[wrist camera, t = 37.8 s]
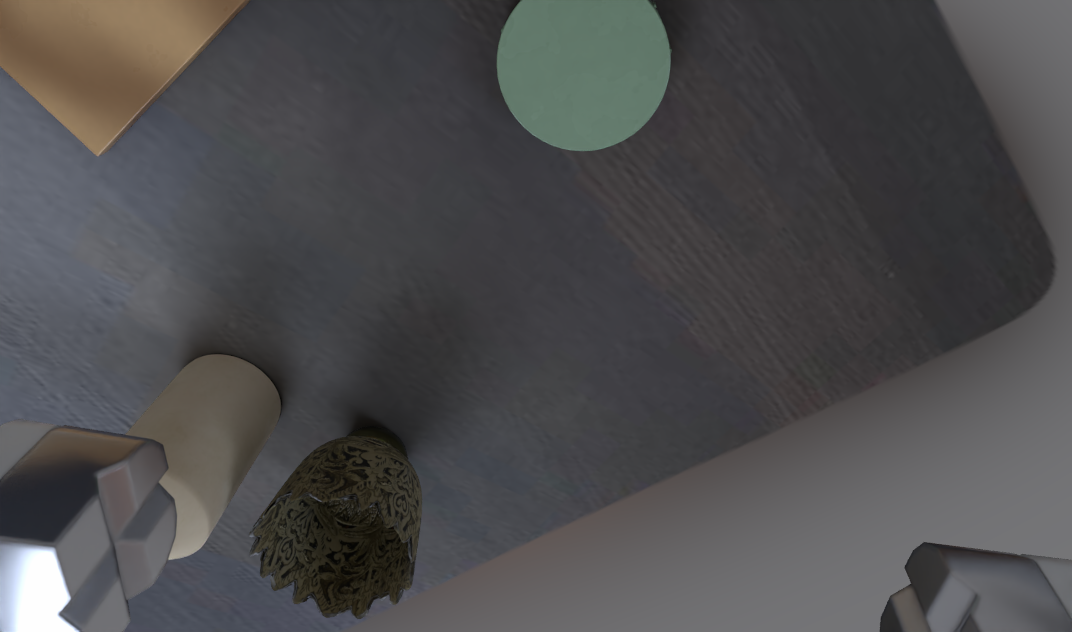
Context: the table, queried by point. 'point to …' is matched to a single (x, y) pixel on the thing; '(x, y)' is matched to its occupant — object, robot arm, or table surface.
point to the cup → (344, 525)
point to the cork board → (105, 56)
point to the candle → (209, 438)
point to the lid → (583, 69)
